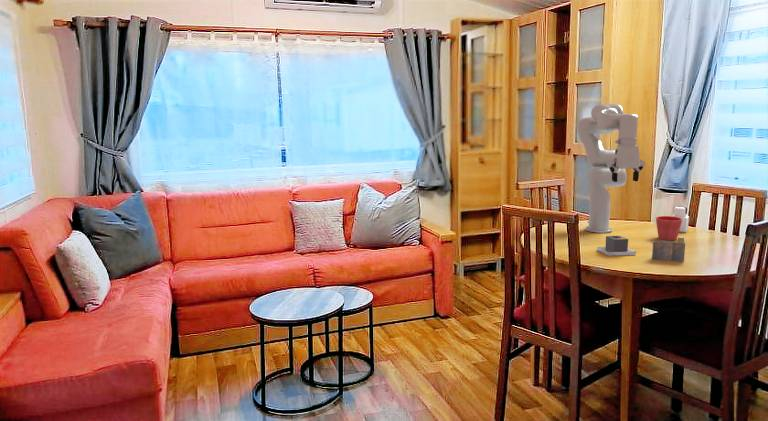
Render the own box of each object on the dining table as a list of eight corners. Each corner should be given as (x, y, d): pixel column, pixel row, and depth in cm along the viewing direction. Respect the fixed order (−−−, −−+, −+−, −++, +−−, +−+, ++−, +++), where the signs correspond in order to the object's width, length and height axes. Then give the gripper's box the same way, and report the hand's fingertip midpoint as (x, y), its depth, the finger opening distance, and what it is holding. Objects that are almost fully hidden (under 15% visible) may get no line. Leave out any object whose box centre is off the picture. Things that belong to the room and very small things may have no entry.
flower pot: (675, 242, 260) (676, 221, 259) (650, 238, 268) (652, 218, 267) (684, 238, 267) (686, 218, 266) (660, 235, 275) (662, 215, 274)
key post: (597, 250, 247) (597, 236, 246) (623, 249, 248) (624, 235, 247) (608, 256, 237) (609, 241, 236) (635, 254, 238) (636, 240, 237)
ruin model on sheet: (682, 260, 230) (684, 236, 229) (683, 262, 227) (685, 238, 226) (651, 258, 234) (653, 235, 232) (652, 260, 231) (654, 236, 229)
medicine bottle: (672, 228, 290) (673, 205, 288) (687, 229, 286) (689, 206, 284) (669, 230, 284) (671, 207, 282) (685, 232, 280) (687, 208, 278)
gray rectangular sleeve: (605, 247, 246) (606, 235, 245) (618, 246, 246) (619, 234, 245) (613, 251, 238) (614, 239, 238) (627, 250, 239) (628, 238, 238)
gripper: (612, 143, 247) (610, 182, 250) (650, 142, 249) (648, 181, 252) (604, 142, 254) (602, 180, 257) (641, 141, 256) (638, 179, 259)
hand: (625, 181), depth 255 cm, fingers open, 9 cm apart
